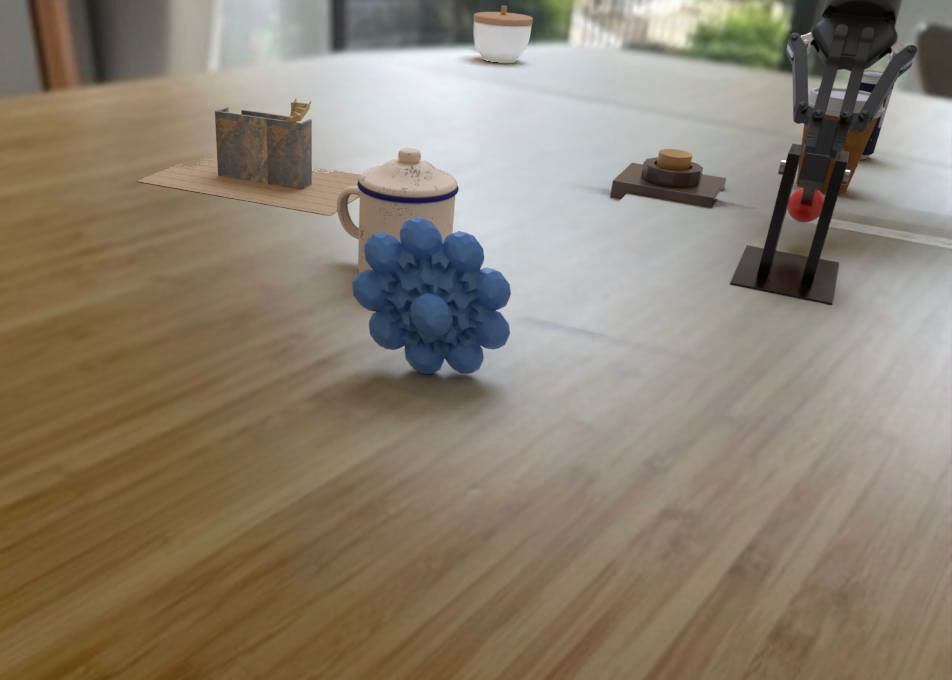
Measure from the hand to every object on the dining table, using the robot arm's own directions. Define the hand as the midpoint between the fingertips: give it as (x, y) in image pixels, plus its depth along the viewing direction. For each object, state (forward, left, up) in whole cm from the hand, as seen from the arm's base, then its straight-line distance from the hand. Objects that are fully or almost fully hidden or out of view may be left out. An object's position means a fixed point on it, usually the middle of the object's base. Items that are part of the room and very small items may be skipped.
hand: (814, 180), depth 93 cm
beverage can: (-4, -52, -8) cm, 52 cm away
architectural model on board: (+60, +10, -8) cm, 62 cm away
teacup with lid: (+34, +28, -8) cm, 45 cm away
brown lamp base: (+16, -13, -8) cm, 22 cm away
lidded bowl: (+69, -95, -8) cm, 118 cm away
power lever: (0, +6, -1) cm, 6 cm away
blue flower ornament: (+22, +46, -8) cm, 52 cm away
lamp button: (+16, -13, -4) cm, 21 cm away
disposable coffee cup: (-1, -30, -8) cm, 31 cm away
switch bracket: (0, +10, -8) cm, 13 cm away
